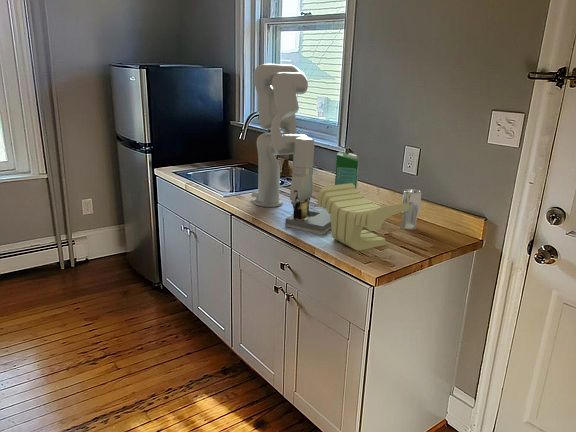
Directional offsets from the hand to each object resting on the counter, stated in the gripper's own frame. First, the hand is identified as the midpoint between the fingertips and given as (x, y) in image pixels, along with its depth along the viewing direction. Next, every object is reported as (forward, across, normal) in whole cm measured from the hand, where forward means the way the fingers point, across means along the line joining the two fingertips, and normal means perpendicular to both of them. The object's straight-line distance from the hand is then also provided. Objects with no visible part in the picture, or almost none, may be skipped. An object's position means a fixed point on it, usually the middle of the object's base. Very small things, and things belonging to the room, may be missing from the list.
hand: (300, 216), depth 185 cm
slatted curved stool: (+4, +4, +25) cm, 26 cm away
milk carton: (+5, -32, +5) cm, 32 cm away
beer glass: (+4, -24, +36) cm, 43 cm away
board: (+4, -5, +3) cm, 7 cm away
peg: (+3, 0, 0) cm, 3 cm away
